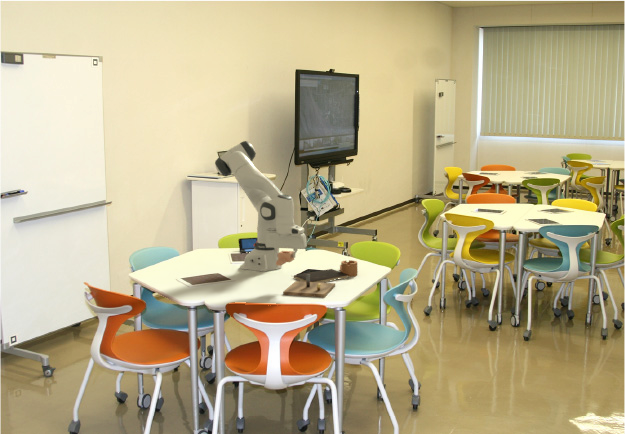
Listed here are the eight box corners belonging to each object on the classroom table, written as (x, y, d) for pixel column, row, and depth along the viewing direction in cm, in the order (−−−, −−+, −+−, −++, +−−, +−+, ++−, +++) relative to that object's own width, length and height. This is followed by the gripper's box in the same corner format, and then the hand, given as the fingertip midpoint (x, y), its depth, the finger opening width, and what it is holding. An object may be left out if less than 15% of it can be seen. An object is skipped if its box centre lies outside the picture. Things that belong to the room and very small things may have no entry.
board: (283, 294, 329) (283, 291, 329) (295, 284, 348) (295, 281, 348) (324, 297, 324) (324, 294, 324) (335, 286, 343) (335, 283, 343)
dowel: (316, 290, 330) (316, 284, 330) (317, 289, 332) (317, 283, 331) (319, 290, 330) (319, 284, 329) (320, 289, 331) (320, 283, 331)
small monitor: (241, 254, 419) (241, 241, 418) (238, 250, 430) (238, 238, 428) (262, 252, 423) (261, 240, 421) (258, 249, 433) (258, 237, 432)
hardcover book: (348, 279, 359) (348, 274, 358) (310, 286, 346) (310, 281, 346) (331, 272, 372) (330, 268, 372) (293, 279, 360) (293, 275, 359)
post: (305, 287, 336) (305, 274, 335) (306, 286, 338) (306, 273, 337) (309, 287, 336) (309, 275, 335) (310, 286, 338) (310, 274, 337)
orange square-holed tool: (272, 265, 331) (272, 256, 330) (282, 258, 343) (282, 250, 342) (284, 265, 329) (284, 257, 328) (294, 259, 341) (293, 251, 341)
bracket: (358, 276, 361) (358, 263, 360) (342, 277, 361) (341, 264, 360) (354, 268, 379) (354, 256, 378) (339, 269, 379) (339, 256, 378)
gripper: (262, 229, 337) (263, 257, 339) (303, 230, 331) (303, 259, 333) (267, 226, 343) (268, 254, 345) (307, 228, 337) (308, 256, 339)
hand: (286, 257), depth 339 cm, fingers closed on orange square-holed tool, 6 cm apart
